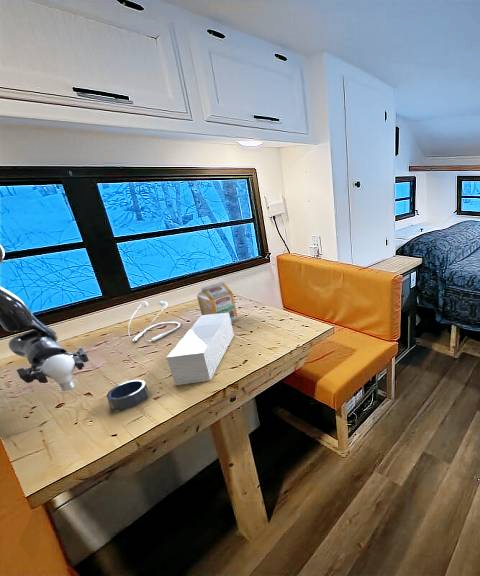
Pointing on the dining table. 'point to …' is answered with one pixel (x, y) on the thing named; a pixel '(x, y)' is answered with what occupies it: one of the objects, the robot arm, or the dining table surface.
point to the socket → (127, 395)
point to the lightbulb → (60, 370)
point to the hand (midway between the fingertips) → (63, 372)
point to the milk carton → (217, 300)
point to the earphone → (151, 322)
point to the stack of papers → (201, 349)
